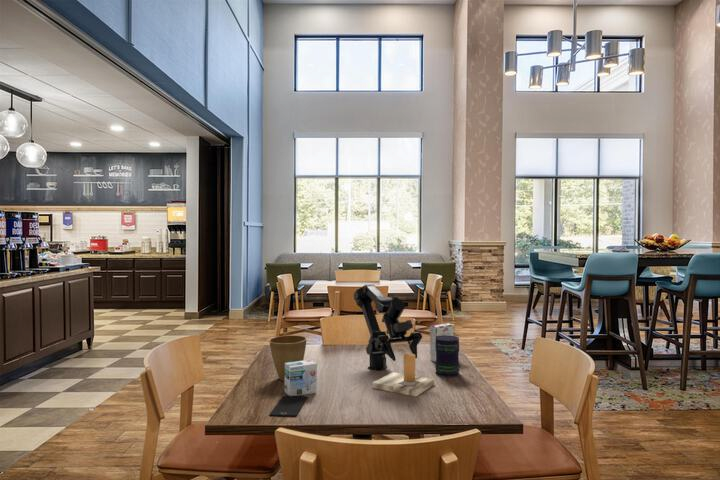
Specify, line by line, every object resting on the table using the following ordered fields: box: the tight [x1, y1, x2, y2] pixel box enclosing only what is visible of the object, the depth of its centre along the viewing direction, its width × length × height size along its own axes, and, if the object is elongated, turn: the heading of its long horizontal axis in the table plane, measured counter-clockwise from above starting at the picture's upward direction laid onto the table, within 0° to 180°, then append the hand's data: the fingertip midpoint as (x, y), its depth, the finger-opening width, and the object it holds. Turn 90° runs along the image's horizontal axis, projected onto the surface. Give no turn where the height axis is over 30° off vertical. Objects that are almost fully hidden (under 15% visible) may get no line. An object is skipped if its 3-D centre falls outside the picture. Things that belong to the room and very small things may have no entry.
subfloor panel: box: [372, 371, 435, 397], centre depth 174 cm, size 18×16×2 cm
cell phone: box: [269, 394, 309, 418], centre depth 154 cm, size 9×18×1 cm, turn 175°
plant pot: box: [268, 334, 307, 382], centre depth 184 cm, size 15×15×16 cm
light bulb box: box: [284, 359, 318, 396], centre depth 168 cm, size 11×7×11 cm, turn 118°
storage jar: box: [434, 335, 460, 378], centre depth 190 cm, size 10×10×15 cm
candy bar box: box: [429, 322, 455, 363], centre depth 211 cm, size 11×5×16 cm, turn 120°
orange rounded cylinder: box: [403, 353, 416, 387], centre depth 171 cm, size 4×4×12 cm
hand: (405, 359), depth 174 cm, fingers open, 9 cm apart
